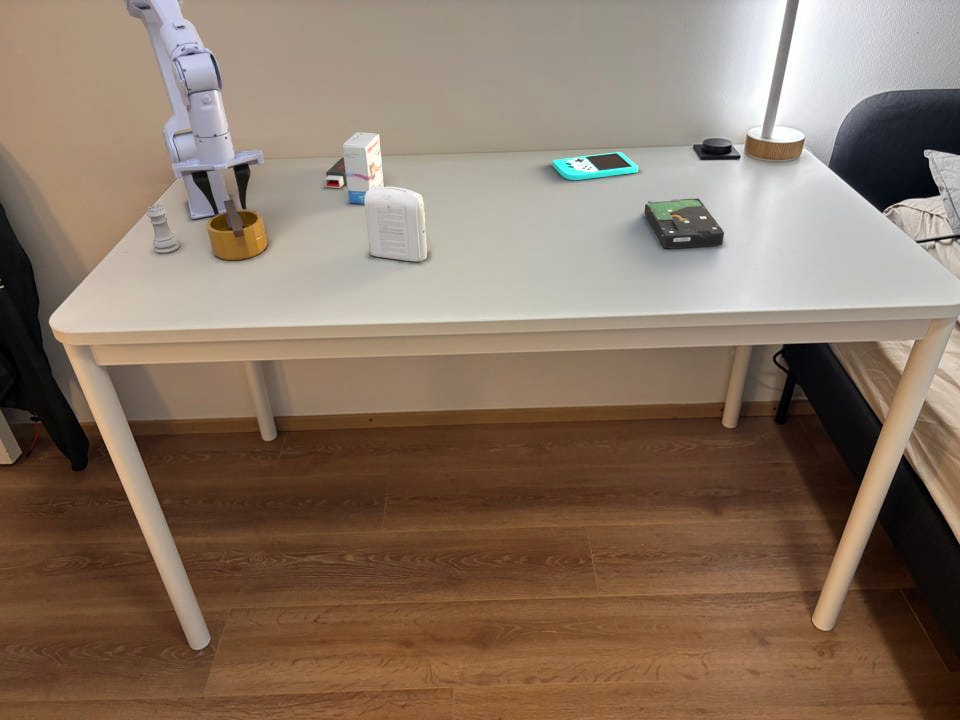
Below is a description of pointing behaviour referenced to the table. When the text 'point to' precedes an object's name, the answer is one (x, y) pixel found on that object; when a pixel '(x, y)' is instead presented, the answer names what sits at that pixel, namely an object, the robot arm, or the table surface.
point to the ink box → (362, 165)
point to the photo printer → (396, 223)
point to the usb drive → (336, 175)
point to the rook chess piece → (162, 231)
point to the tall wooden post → (233, 219)
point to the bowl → (239, 246)
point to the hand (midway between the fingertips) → (230, 209)
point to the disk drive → (683, 223)
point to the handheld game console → (594, 166)
